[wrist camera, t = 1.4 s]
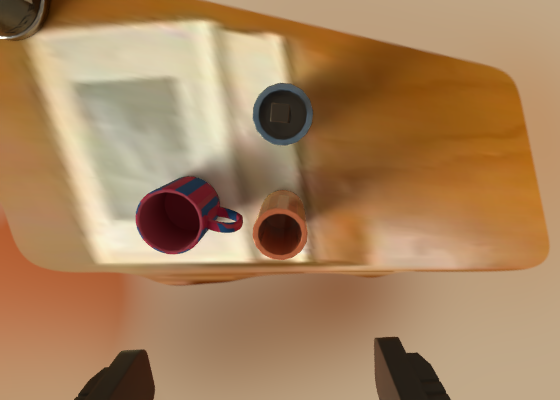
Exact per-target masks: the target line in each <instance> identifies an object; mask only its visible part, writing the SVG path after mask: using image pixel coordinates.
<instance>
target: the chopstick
mask: <svg viewBox="0 0 560 400" xmlns="http://www.w3.org/2000/svg"><path fill="white" fill-rule="evenodd" d="M290 119H291V109H290V105H289V104H279V103H272V104H271V117H270V121H271V122H281V123H290Z"/></svg>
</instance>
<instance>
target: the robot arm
mask: <svg viewBox="0 0 560 400" xmlns="http://www.w3.org/2000/svg"><path fill="white" fill-rule="evenodd" d="M49 2H50V0H0V39H4V40H10V41H16V40H23V39H26V38H28V37H30V36H32V35H33V34H35V33H36V32H37V31H38V30H39V29H40V28H41V26H42V25H43V23H44V21H45V19H46V17H47V14H48V10H49ZM374 355H375V381H376V388H377V392H378V396H379V400H450V397H449V396H448V394H446V391H445V389H444V387H443V385H442V383H441V382H439V378H438V376H437V375H436V373H435V371H434V369H433V368H432V366H431V364H430V363H428V362H427V361H426V360H425V359H424V358H423V357H422V356H420V355H419V354H418V353H406V352H405V350H404V348H403V346H402V344H401V342H400V340H399V338H398V337H383V338H375V340H374ZM154 393H155V385H154V380H153V376H152V372H151V367H150V363H149V359H148V355H147V352H146V351H145V350H125V351H121V352H120V353H119V354H118V356H117V357H116V358H115V359H114V361H113V362H112V364H111V365H110V366H109V367H106V368H104V369H103V370H101V371H100V372H99V373H97V374H96V375H95V376H94V377H92V378H91V379H90V380H89V381H88V382H87V384H86V385H85V386H84V388H83V389H82V390H81V392H80V393H79V394H78V397H76V398H75V399H74V400H153V399H154Z"/></svg>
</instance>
